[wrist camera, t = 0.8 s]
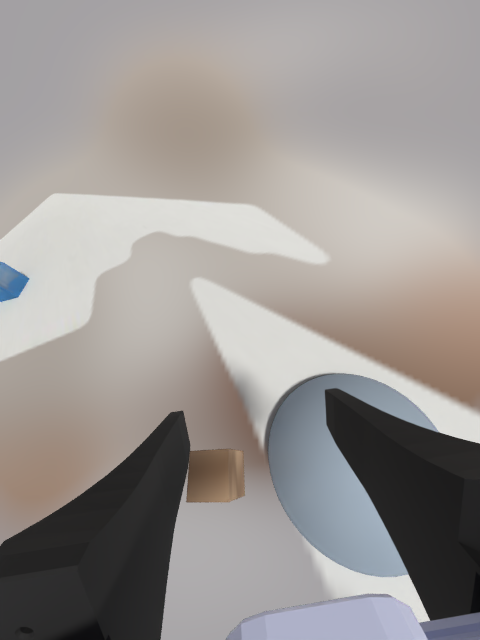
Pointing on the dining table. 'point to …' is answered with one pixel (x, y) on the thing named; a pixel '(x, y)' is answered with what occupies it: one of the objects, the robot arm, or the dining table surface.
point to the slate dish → (334, 475)
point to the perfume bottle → (10, 282)
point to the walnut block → (215, 475)
